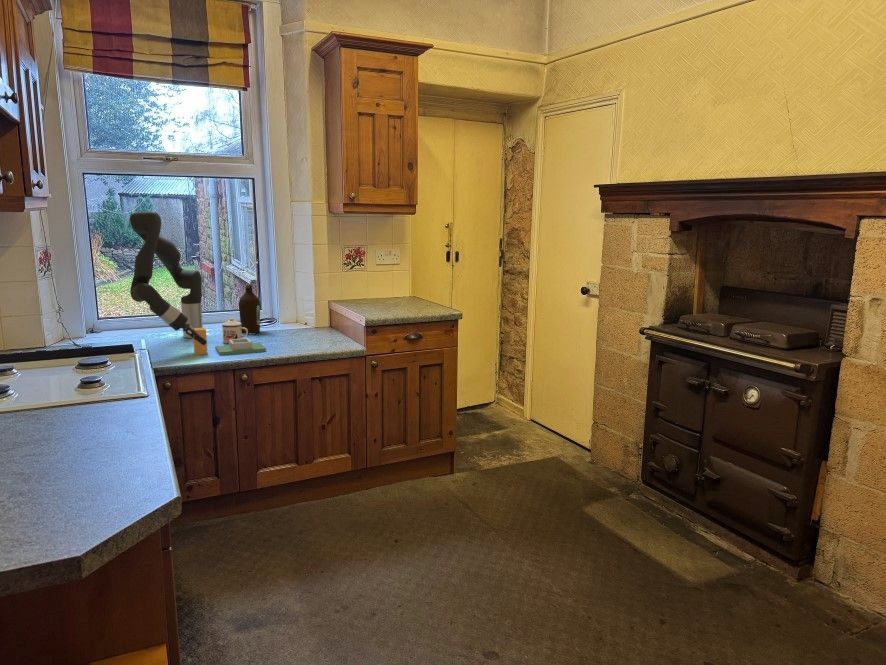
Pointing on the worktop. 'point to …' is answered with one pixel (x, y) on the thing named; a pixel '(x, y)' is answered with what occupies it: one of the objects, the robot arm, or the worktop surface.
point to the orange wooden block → (197, 345)
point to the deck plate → (240, 347)
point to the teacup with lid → (232, 330)
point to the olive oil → (249, 311)
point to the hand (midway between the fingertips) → (204, 342)
